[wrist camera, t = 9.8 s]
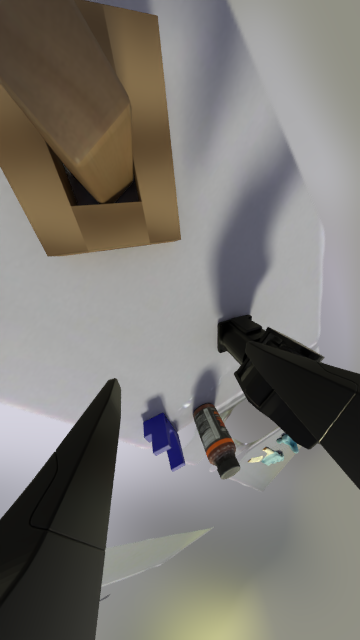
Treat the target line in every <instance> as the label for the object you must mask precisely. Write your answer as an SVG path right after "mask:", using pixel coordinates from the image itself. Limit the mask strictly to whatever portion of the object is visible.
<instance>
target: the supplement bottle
mask: <svg viewBox="0 0 360 640" xmlns="http://www.w3.org/2000/svg"><path fill="white" fill-rule="evenodd" d="M193 417H194V421H195V424H196V427H197V429H198V432H199V435H200V438H201V441H202V443H203V446H204V449H205V452H206V455H207V457H208V460H209V462H210V463H211V464H213V465H215V466H217V468H218V469H217V471H218V472H219V475H220V477H221V479H227V478H230V477H232V476H233V475H235V474H236V473H237V472H238V471H239V470H240V465H239V463H238V461H237V459H236V457H235V451H236V447H235V444H234V442H233V440H232V438H231V436H230V435H229V433H228V431H227V429H226V427H225V425H224V423H223V421H222V419H221V417H220V415H219V413H218V411H217V410H216V408H215V406H214V405H212V404H204V405H202V406H200V407H199V408H197V409H196V410H195V412H194V414H193Z"/></svg>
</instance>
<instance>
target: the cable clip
mask: <svg viewBox="0 0 360 640" xmlns="http://www.w3.org/2000/svg"><path fill="white" fill-rule="evenodd" d="M143 425H144V438H145V439H146V440H147V441H148V442H149V443H150V442H152V446H153V453H154V454H155V455H156V456H157V455H159V454H161V453H162V452H164V451H166V450H167V454H168V457H169V462H170V466H171V470H172V471H173V472H174V471H175V470H177V469H179V468H181V467H183V466H185V461H184V456H183V452H182V448H181V444H180V440H179V436H178V433H177V432H176V431H175V429H174V428H173V426H172V425H171V423H170V422H169V421H168V419H167V418H166V416H165V415H164V413H161V414H159V415H157V416H155V417H153V418H151V419H149V420H147V421H145V422H143Z"/></svg>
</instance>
